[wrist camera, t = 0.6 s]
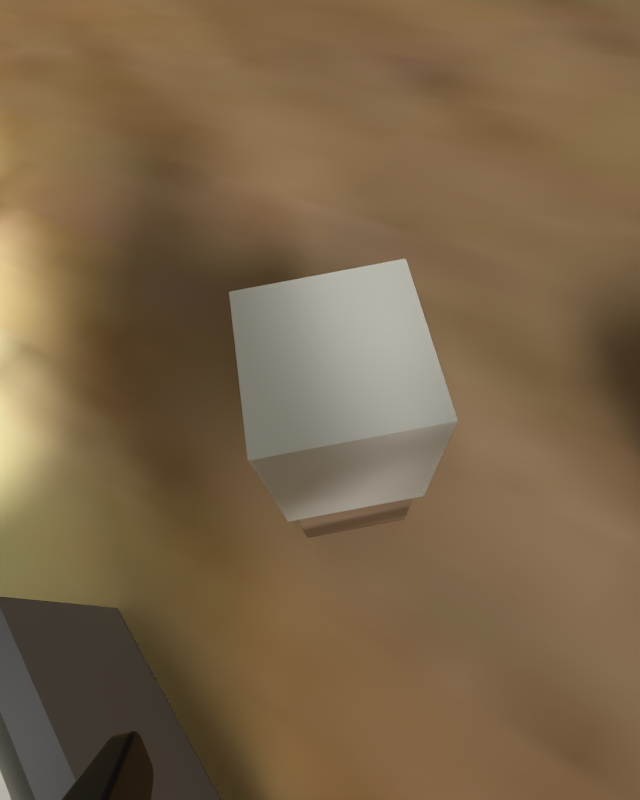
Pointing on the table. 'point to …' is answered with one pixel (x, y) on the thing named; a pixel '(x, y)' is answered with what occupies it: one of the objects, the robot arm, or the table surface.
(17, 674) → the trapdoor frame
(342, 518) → the stand
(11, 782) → the trapdoor
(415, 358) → the grey rectangular block
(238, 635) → the table surface
